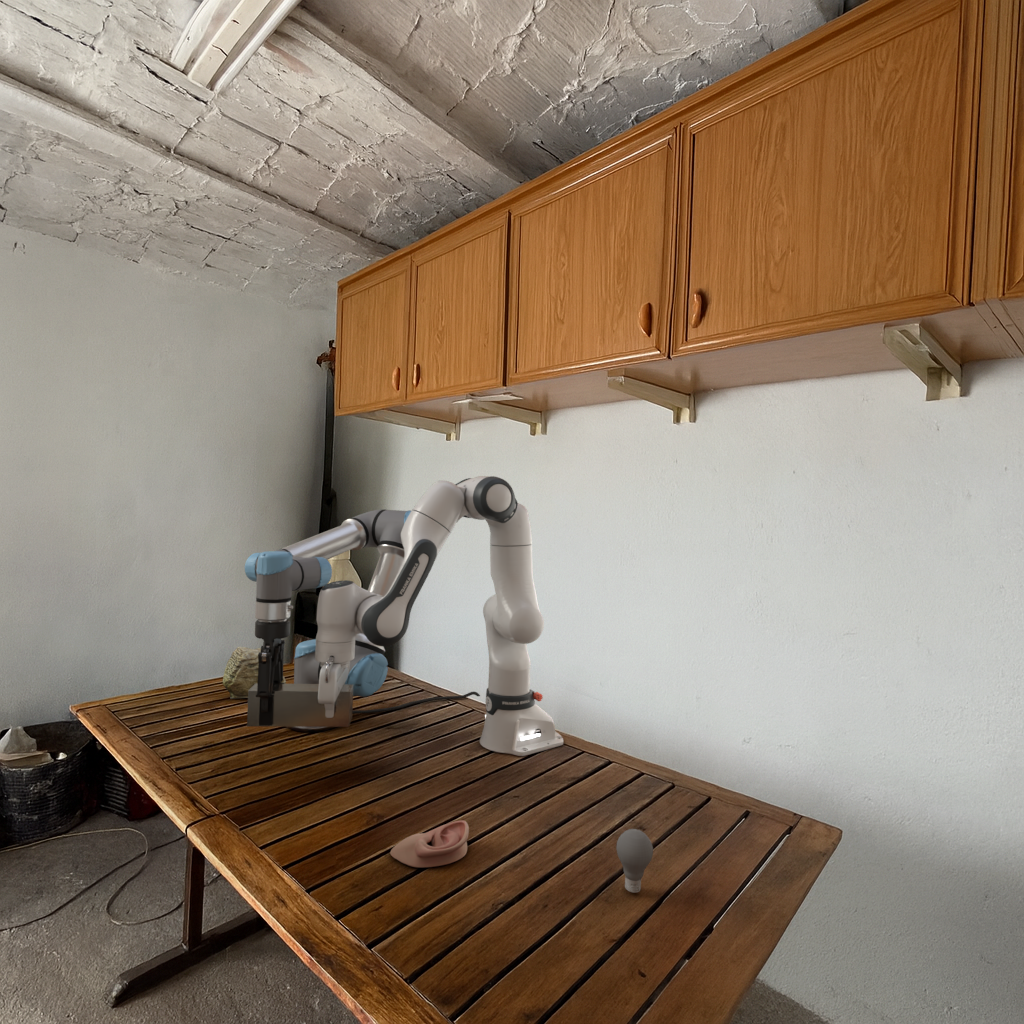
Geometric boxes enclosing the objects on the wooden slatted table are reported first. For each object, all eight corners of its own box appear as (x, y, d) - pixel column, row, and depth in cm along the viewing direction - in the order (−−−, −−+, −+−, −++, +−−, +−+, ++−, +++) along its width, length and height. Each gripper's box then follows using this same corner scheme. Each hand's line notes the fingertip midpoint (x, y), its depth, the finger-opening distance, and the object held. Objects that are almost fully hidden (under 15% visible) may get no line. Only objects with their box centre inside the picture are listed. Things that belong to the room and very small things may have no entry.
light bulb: (610, 879, 108) (613, 822, 108) (644, 879, 109) (647, 822, 109) (619, 902, 102) (622, 840, 102) (655, 901, 103) (658, 840, 103)
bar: (246, 726, 142) (248, 690, 142) (254, 717, 147) (255, 683, 147) (348, 726, 144) (350, 691, 144) (352, 718, 150) (353, 684, 150)
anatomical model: (384, 839, 110) (407, 809, 122) (383, 862, 111) (407, 829, 122) (457, 851, 108) (474, 819, 119) (456, 874, 108) (473, 840, 119)
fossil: (218, 695, 195) (220, 647, 195) (278, 685, 208) (279, 640, 207) (228, 703, 189) (230, 653, 188) (289, 692, 201) (290, 645, 201)
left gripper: (279, 628, 136) (275, 735, 136) (299, 612, 154) (295, 706, 155) (243, 627, 135) (239, 735, 135) (267, 611, 153) (263, 706, 154)
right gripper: (342, 663, 136) (339, 727, 136) (355, 641, 157) (352, 697, 157) (312, 662, 136) (309, 726, 136) (328, 641, 156) (326, 697, 156)
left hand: (269, 719), depth 145 cm, fingers closed on bar, 6 cm apart
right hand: (332, 710), depth 146 cm, fingers open, 6 cm apart
